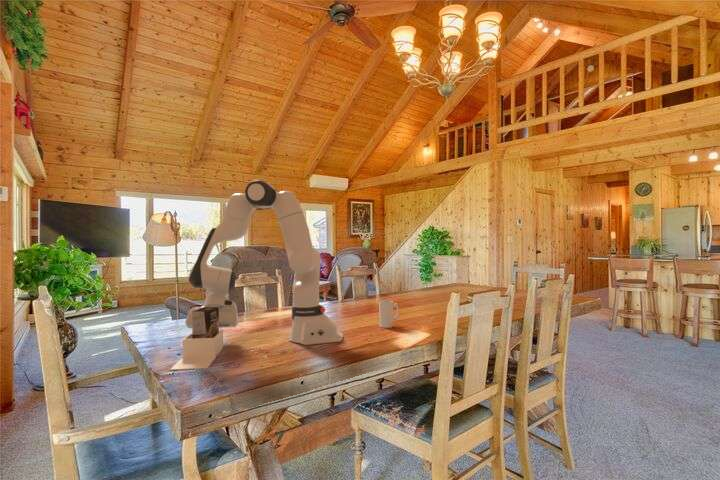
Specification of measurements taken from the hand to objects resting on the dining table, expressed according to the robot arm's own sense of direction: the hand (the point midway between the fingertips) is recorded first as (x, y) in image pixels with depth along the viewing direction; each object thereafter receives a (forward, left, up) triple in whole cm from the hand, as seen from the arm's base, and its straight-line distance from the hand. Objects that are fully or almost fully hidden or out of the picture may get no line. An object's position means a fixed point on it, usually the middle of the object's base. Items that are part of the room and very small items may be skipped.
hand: (209, 335), depth 156 cm
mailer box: (0, +14, -4) cm, 15 cm away
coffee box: (0, +6, -5) cm, 7 cm away
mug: (-77, -22, -5) cm, 80 cm away
